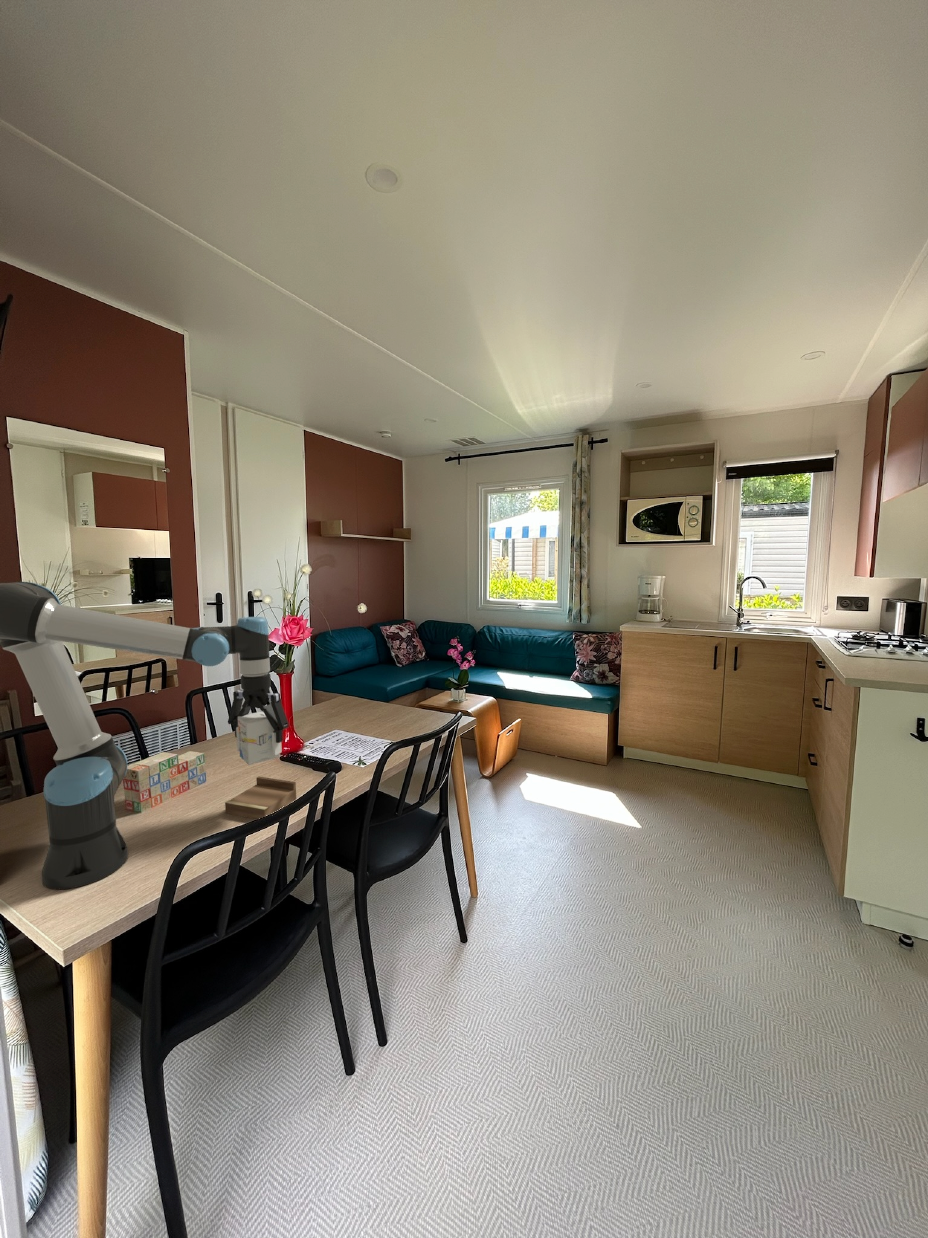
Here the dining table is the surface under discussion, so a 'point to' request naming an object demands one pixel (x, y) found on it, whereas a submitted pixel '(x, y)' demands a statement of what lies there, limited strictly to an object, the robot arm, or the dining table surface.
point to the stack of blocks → (162, 778)
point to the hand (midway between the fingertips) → (259, 751)
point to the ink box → (255, 738)
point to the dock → (262, 798)
